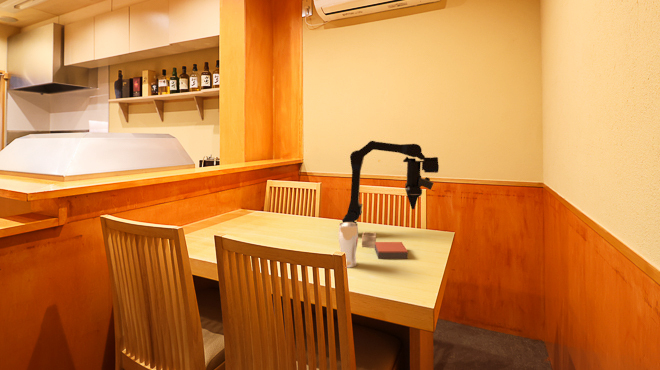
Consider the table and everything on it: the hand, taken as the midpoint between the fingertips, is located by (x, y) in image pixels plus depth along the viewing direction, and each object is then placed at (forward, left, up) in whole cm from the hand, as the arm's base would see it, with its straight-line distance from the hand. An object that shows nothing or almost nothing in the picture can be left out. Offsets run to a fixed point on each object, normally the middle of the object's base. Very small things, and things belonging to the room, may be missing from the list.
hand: (412, 206), depth 148 cm
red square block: (-9, -22, -15) cm, 28 cm away
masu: (-18, -13, -15) cm, 27 cm away
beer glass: (-24, -36, -15) cm, 46 cm away
